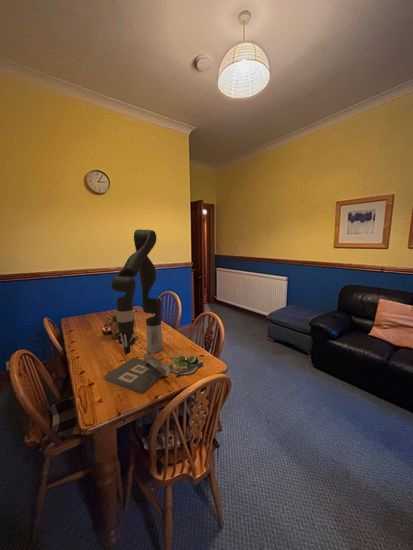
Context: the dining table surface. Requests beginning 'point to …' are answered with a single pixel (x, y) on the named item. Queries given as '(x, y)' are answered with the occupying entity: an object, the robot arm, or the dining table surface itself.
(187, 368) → the salad plate
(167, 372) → the cable arm
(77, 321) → the dining table surface
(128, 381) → the grey flat slab
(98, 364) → the dining table surface
